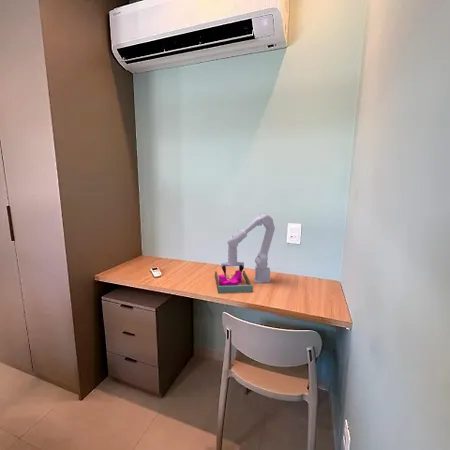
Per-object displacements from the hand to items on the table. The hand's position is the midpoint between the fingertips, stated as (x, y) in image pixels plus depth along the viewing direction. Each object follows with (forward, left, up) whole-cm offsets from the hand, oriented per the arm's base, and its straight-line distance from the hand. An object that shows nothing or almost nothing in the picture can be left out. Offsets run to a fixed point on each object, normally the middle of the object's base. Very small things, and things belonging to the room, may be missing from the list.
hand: (232, 276), depth 174 cm
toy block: (+1, +6, -3) cm, 7 cm away
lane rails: (0, +2, -3) cm, 4 cm away
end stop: (0, +16, -3) cm, 16 cm away
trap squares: (0, -8, -3) cm, 9 cm away
